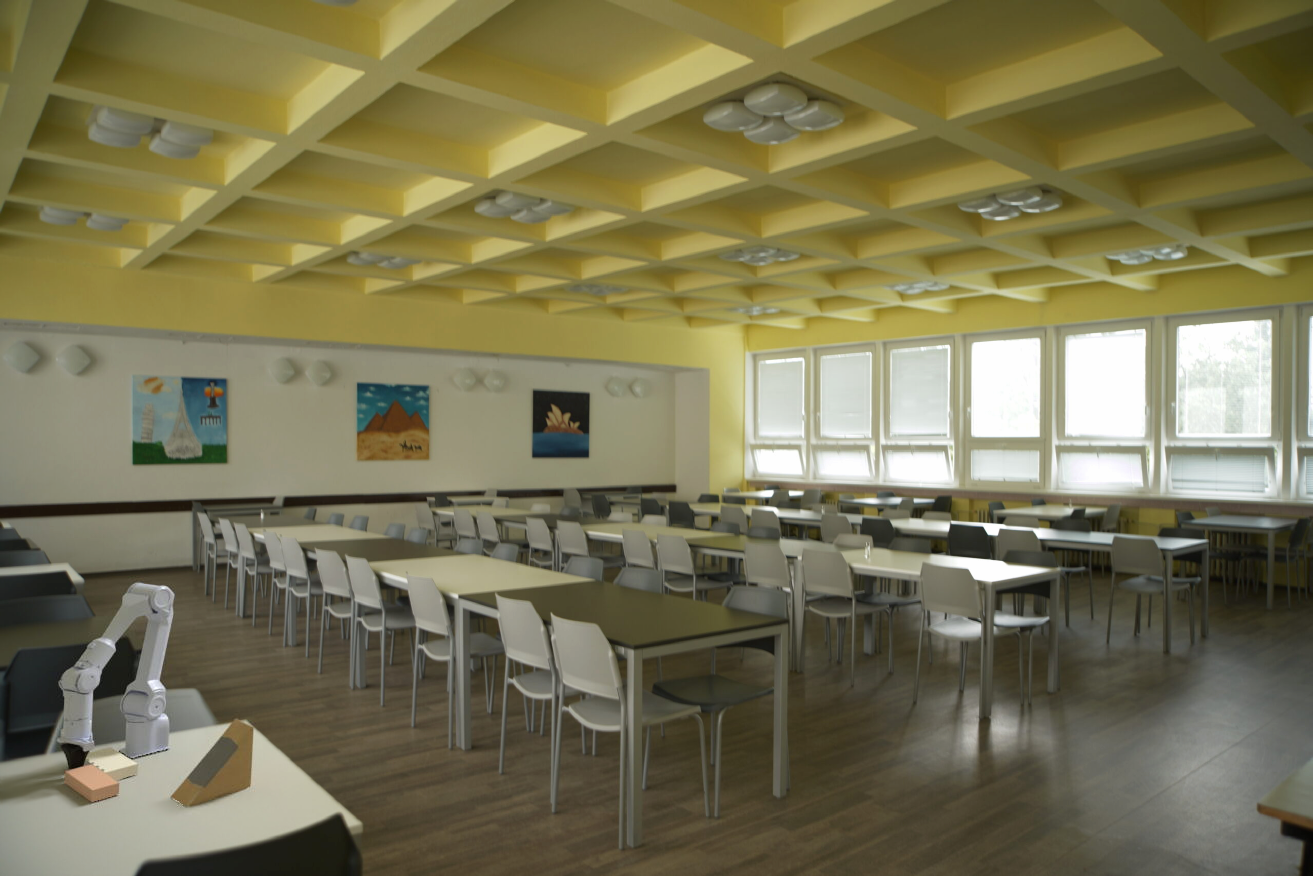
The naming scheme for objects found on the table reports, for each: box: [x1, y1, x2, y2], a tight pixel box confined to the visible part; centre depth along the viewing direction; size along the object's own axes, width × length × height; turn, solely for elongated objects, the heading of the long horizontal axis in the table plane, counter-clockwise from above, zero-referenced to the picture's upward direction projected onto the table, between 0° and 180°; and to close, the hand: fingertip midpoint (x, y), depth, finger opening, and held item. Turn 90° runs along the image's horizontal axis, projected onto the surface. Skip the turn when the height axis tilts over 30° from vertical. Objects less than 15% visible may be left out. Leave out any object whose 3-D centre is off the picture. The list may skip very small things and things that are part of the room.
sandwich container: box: [170, 718, 255, 808], centre depth 200 cm, size 9×15×15 cm, turn 144°
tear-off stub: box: [64, 765, 120, 803], centre depth 198 cm, size 6×16×3 cm, turn 54°
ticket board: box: [84, 747, 139, 781], centre depth 209 cm, size 7×16×3 cm, turn 54°
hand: (75, 772), depth 205 cm, fingers closed
